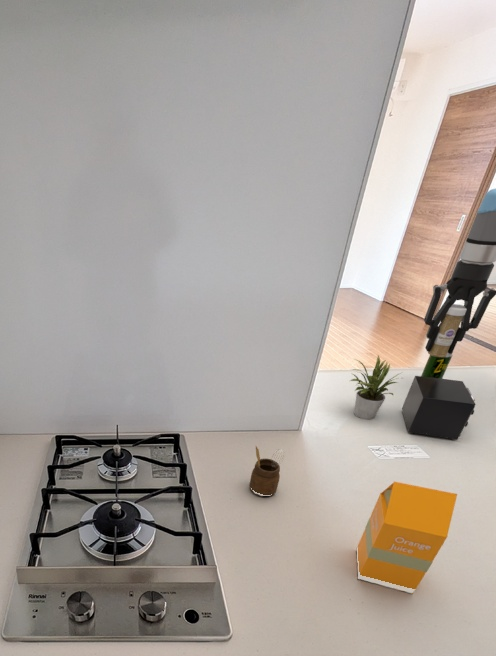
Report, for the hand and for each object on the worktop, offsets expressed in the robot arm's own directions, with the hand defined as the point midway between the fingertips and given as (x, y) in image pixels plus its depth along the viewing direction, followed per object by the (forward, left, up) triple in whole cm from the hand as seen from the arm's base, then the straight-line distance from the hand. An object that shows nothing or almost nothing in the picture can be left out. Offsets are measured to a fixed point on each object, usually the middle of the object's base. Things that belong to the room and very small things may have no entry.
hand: (438, 350), depth 121 cm
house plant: (+16, +13, -16) cm, 26 cm away
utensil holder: (+39, +57, -16) cm, 71 cm away
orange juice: (+16, +73, -16) cm, 76 cm away
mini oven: (0, +15, -15) cm, 22 cm away
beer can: (-4, -10, -16) cm, 19 cm away
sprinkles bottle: (0, 0, -1) cm, 1 cm away
